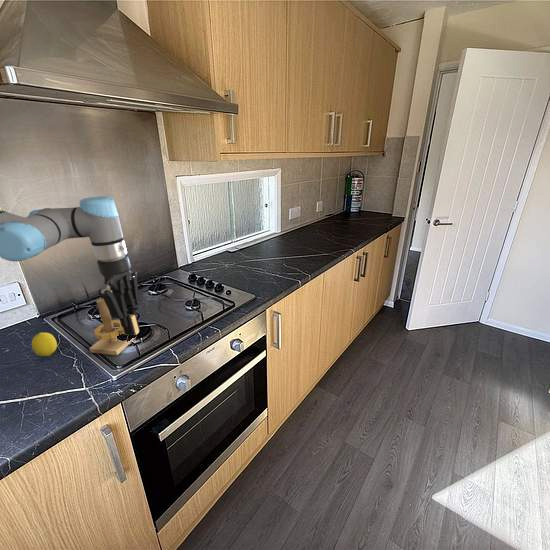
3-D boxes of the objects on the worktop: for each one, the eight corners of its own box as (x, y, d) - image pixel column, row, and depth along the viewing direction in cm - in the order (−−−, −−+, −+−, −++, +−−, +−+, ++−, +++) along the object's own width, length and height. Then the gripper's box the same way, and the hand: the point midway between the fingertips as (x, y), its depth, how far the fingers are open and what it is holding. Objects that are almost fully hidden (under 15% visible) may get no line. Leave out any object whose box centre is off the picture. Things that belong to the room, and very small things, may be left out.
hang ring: (88, 338, 85) (82, 321, 83) (109, 323, 93) (103, 306, 90) (128, 342, 83) (123, 324, 80) (146, 325, 90) (141, 308, 88)
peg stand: (90, 352, 87) (74, 306, 81) (111, 335, 95) (98, 292, 89) (117, 355, 85) (103, 309, 79) (136, 337, 93) (124, 294, 87)
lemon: (32, 361, 84) (22, 338, 81) (48, 349, 89) (39, 327, 86) (49, 362, 83) (40, 339, 80) (65, 350, 88) (56, 327, 85)
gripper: (105, 268, 70) (128, 348, 79) (141, 249, 83) (157, 319, 93) (78, 267, 71) (103, 346, 81) (118, 248, 85) (136, 318, 94)
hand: (132, 332), depth 87 cm, fingers closed on hang ring, 2 cm apart
